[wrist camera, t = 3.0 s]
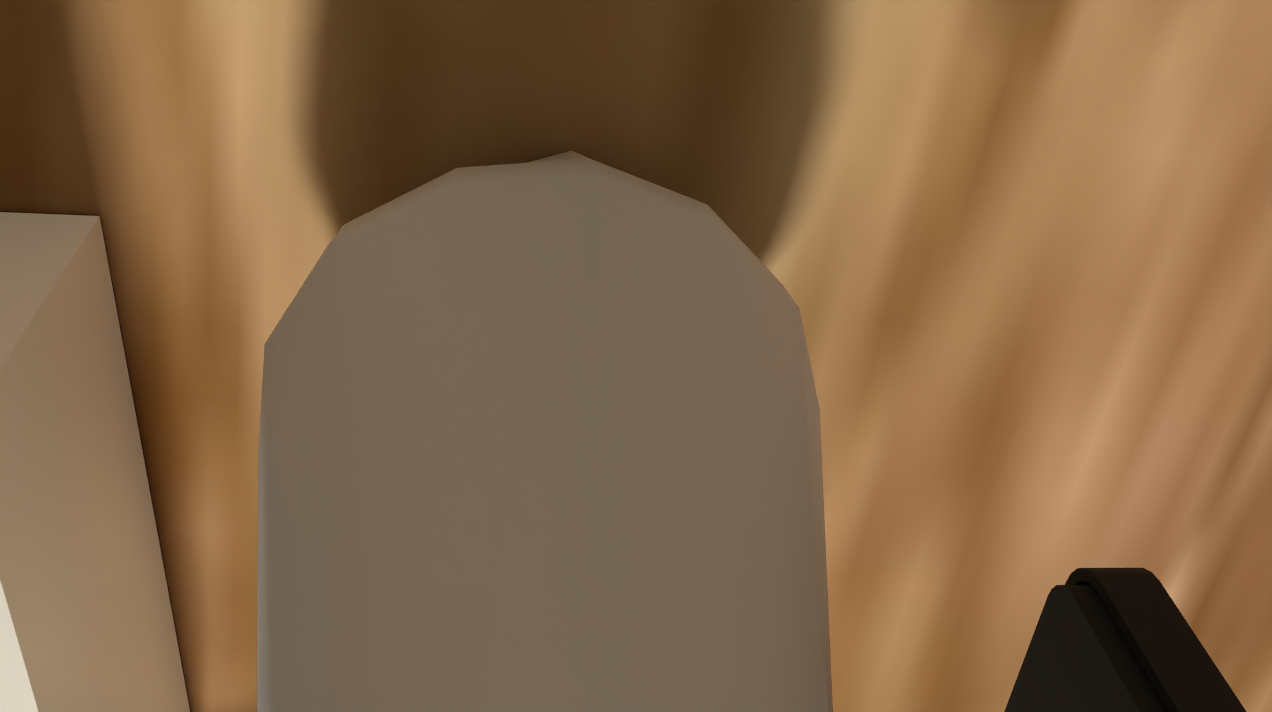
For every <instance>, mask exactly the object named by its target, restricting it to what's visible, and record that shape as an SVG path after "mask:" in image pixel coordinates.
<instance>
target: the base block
mask: <svg viewBox="0 0 1272 712" xmlns="http://www.w3.org/2000/svg"><path fill="white" fill-rule="evenodd" d="M0 712H190V708H189V703H188V697H187V692H186V686H185V681H184V675H183V670H182V664H181V659H180V654H179V648H178V643H177V637H176V632H175V626H174V621H173V615H172V610H171V604H170V599H169V593H168V588H167V582H166V577H165V571H164V566H163V561H162V555H161V550H160V544H159V539H158V533H157V528H156V522H155V517H154V511H153V506H152V500H151V495H150V489H149V484H148V479H147V473H146V468H145V462H144V457H143V451H142V446H141V440H140V435H139V429H138V424H137V418H136V413H135V407H134V402H133V397H132V391H131V386H130V380H129V375H128V369H127V364H126V358H125V353H124V347H123V342H122V336H121V331H120V325H119V320H118V314H117V309H116V304H115V298H114V293H113V287H112V282H111V276H110V271H109V265H108V260H107V254H106V249H105V243H104V238H103V232H102V227H101V222H100V216H84V215H60V214H35V213H10V212H0Z"/></svg>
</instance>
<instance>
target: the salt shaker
mask: <svg viewBox="0 0 1272 712" xmlns="http://www.w3.org/2000/svg"><path fill="white" fill-rule="evenodd" d="M257 712H833V705H832V682H831V660H830V637H829V614H828V591H827V569H826V546H825V523H824V500H823V477H822V455H821V432H820V409H819V404H818V399H817V395H816V390H815V385H814V380H813V375H812V370H811V365H810V360H809V355H808V350H807V345H806V340H805V335H804V331H803V326H802V321H801V316H800V311H799V308H798V306H797V305H796V303H795V302H794V300H793V299H792V298H791V296H790V295H789V293H788V292H787V290H786V289H785V288H784V286H783V285H782V284H781V283H780V281H779V280H778V279H777V278H776V277H775V276H774V275H773V274H772V273H771V272H770V271H769V270H768V269H767V268H766V266H765V265H764V264H763V263H762V262H761V261H760V260H759V259H758V258H757V257H756V256H755V255H754V254H753V253H752V252H751V250H750V249H749V248H748V247H747V246H746V245H745V244H744V243H743V242H742V241H741V240H740V239H739V238H738V237H737V235H736V234H735V233H734V232H733V231H732V230H731V229H730V228H729V227H728V226H727V225H726V224H725V223H724V222H723V220H722V219H721V218H720V217H719V216H718V215H717V214H716V213H715V212H714V211H713V210H712V209H711V208H710V207H709V206H708V205H707V204H705V203H702V202H700V201H697V200H695V199H692V198H690V197H687V196H684V195H682V194H679V193H677V192H674V191H672V190H669V189H666V188H664V187H661V186H659V185H656V184H654V183H651V182H649V181H646V180H643V179H641V178H638V177H636V176H633V175H631V174H628V173H626V172H623V171H620V170H618V169H615V168H613V167H610V166H608V165H605V164H602V163H600V162H597V161H595V160H592V159H590V158H587V157H585V156H583V155H581V154H579V153H576V152H574V151H572V150H571V151H567V152H564V153H560V154H556V155H553V156H549V157H545V158H542V159H538V160H534V161H531V162H527V163H515V164H502V165H488V166H475V167H461V168H456V169H454V170H452V171H450V172H448V173H446V174H444V175H442V176H440V177H438V178H436V179H434V180H432V181H430V182H428V183H426V184H424V185H422V186H420V187H418V188H416V189H414V190H412V191H410V192H408V193H406V194H404V195H402V196H400V197H398V198H396V199H394V200H392V201H390V202H388V203H386V204H384V205H382V206H380V207H378V208H376V209H374V210H372V211H370V212H368V213H366V214H364V215H362V216H360V217H358V218H356V219H354V220H352V221H350V222H348V223H346V224H344V225H343V226H342V227H341V228H340V230H339V231H338V232H337V234H336V235H335V237H334V238H333V239H332V241H331V242H330V243H329V245H328V246H327V248H326V249H325V251H324V253H323V254H322V256H321V257H320V259H319V260H318V262H317V263H316V265H315V267H314V268H313V270H312V271H311V273H310V274H309V276H308V277H307V279H306V281H305V282H304V284H303V285H302V287H301V288H300V290H299V292H298V293H297V295H296V296H295V298H294V299H293V301H292V302H291V304H290V306H289V307H288V309H287V310H286V312H285V313H284V315H283V316H282V318H281V320H280V321H279V323H278V324H277V326H276V327H275V329H274V331H273V332H272V334H271V335H270V337H269V338H268V340H267V341H266V343H265V349H264V366H263V382H262V398H261V414H260V430H259V446H258V639H257Z"/></svg>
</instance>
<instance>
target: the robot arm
mask: <svg viewBox="0 0 1272 712" xmlns="http://www.w3.org/2000/svg"><path fill="white" fill-rule="evenodd" d="M1005 712H1246V710H1245V709H1244V707H1243V706H1242V704H1241V703H1240V701H1239V700H1238V698H1237V697H1236V695H1235V694H1234V692H1233V691H1232V689H1231V688H1230V686H1229V685H1228V683H1227V682H1226V680H1225V679H1224V677H1223V676H1222V674H1221V673H1220V671H1219V670H1218V668H1217V667H1216V665H1215V664H1214V662H1213V661H1212V659H1211V658H1210V656H1209V655H1208V653H1207V652H1206V650H1205V649H1204V647H1203V646H1202V644H1201V643H1200V641H1199V640H1198V638H1197V637H1196V635H1195V634H1194V632H1193V631H1192V629H1191V628H1190V626H1189V625H1188V623H1187V622H1186V620H1185V619H1184V617H1183V616H1182V614H1181V613H1180V611H1179V610H1178V608H1177V607H1176V605H1175V604H1174V602H1173V601H1172V599H1171V598H1170V596H1169V595H1168V593H1167V592H1166V590H1165V589H1164V587H1163V586H1162V584H1161V582H1160V581H1159V580H1158V579H1157V578H1156V577H1155V575H1154V574H1153V573H1152V572H1150V571H1148V570H1146V569H1144V568H1078V569H1076V570H1075V571H1074V572H1072V573H1071V574H1070V576H1069V578H1068V580H1067V582H1066V583H1065V585H1056V586H1055V587H1054V588H1053V589H1052V590H1051V591H1050V593H1049V595H1048V597H1047V600H1046V603H1045V605H1044V608H1043V611H1042V613H1041V616H1040V619H1039V621H1038V624H1037V626H1036V629H1035V632H1034V634H1033V637H1032V640H1031V642H1030V645H1029V648H1028V650H1027V653H1026V656H1025V658H1024V661H1023V664H1022V666H1021V669H1020V672H1019V674H1018V677H1017V680H1016V682H1015V685H1014V688H1013V690H1012V693H1011V696H1010V698H1009V701H1008V704H1007V706H1006V709H1005Z"/></svg>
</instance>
